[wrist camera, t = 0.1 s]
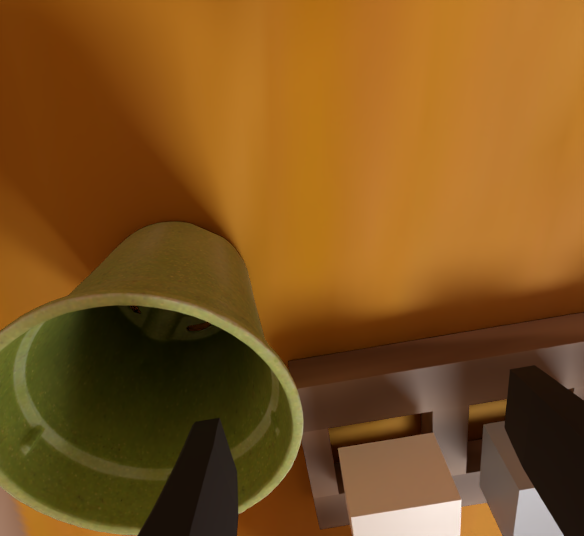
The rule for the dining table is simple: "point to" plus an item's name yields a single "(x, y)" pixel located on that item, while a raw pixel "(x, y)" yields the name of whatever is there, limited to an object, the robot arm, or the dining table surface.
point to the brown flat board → (426, 394)
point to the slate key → (511, 488)
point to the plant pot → (142, 382)
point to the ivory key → (400, 488)
